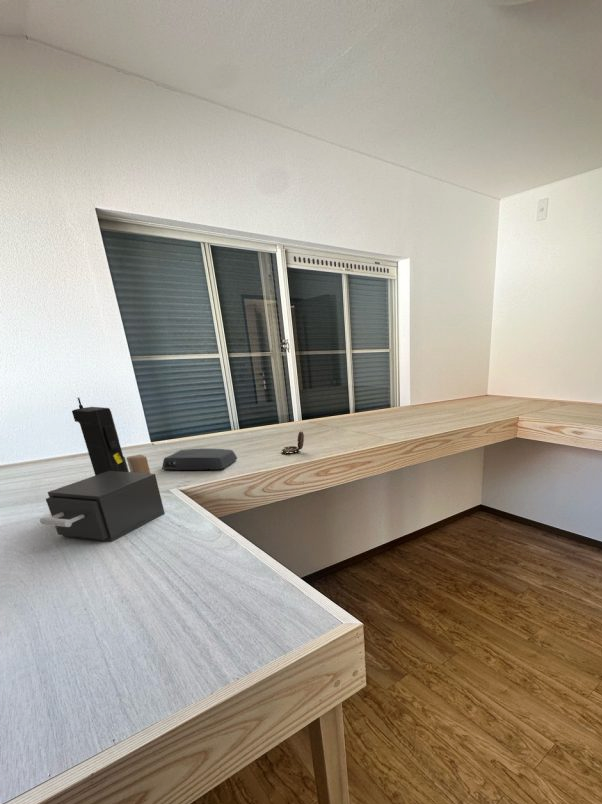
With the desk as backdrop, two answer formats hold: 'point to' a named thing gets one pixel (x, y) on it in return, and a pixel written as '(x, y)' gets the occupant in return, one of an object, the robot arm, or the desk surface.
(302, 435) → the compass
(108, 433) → the portable radio
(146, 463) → the wooden block
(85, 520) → the fryer drawer
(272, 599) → the desk surface
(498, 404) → the desk surface
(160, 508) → the air fryer
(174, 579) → the desk surface
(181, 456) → the hard drive
